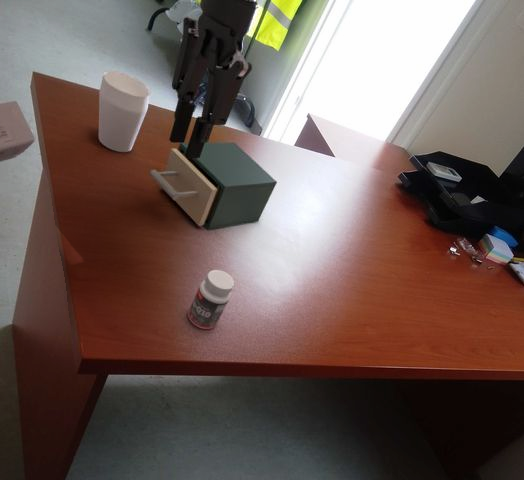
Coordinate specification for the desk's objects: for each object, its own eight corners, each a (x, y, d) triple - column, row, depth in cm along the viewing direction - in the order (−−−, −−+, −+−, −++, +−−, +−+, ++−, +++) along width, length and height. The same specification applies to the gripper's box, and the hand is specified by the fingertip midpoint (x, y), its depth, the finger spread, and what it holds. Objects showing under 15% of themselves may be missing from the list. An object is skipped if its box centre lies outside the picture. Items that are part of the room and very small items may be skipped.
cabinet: (207, 230, 87) (225, 186, 81) (166, 187, 91) (180, 142, 85) (258, 221, 97) (277, 182, 91) (219, 182, 101) (234, 142, 95)
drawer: (174, 229, 81) (187, 192, 76) (135, 187, 85) (144, 148, 79) (247, 217, 94) (262, 185, 89) (211, 181, 98) (223, 148, 93)
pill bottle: (181, 313, 69) (198, 272, 64) (202, 303, 73) (220, 264, 67) (202, 334, 68) (221, 294, 63) (222, 323, 72) (242, 285, 66)
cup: (146, 153, 96) (160, 96, 88) (114, 158, 90) (126, 98, 82) (116, 129, 98) (127, 70, 90) (82, 133, 91) (91, 70, 83)
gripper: (292, 25, 62) (230, 177, 77) (216, -34, 66) (172, 121, 82) (255, 14, 56) (197, 180, 72) (176, -49, 61) (137, 119, 77)
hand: (184, 148), depth 77 cm, fingers open, 4 cm apart
